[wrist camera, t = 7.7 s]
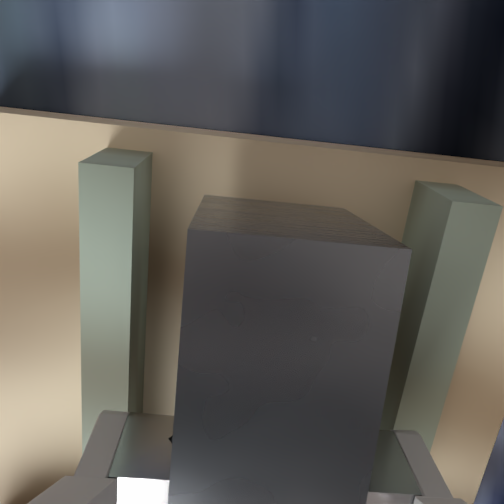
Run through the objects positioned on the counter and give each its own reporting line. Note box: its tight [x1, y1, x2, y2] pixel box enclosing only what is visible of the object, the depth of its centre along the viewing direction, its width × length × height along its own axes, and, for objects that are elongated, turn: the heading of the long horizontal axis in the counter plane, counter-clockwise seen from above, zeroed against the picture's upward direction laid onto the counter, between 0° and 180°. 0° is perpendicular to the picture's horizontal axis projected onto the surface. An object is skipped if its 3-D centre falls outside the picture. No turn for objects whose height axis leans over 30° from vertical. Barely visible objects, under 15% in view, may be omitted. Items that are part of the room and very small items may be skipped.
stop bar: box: [168, 195, 412, 504], centre depth 9 cm, size 10×3×4 cm, turn 174°
